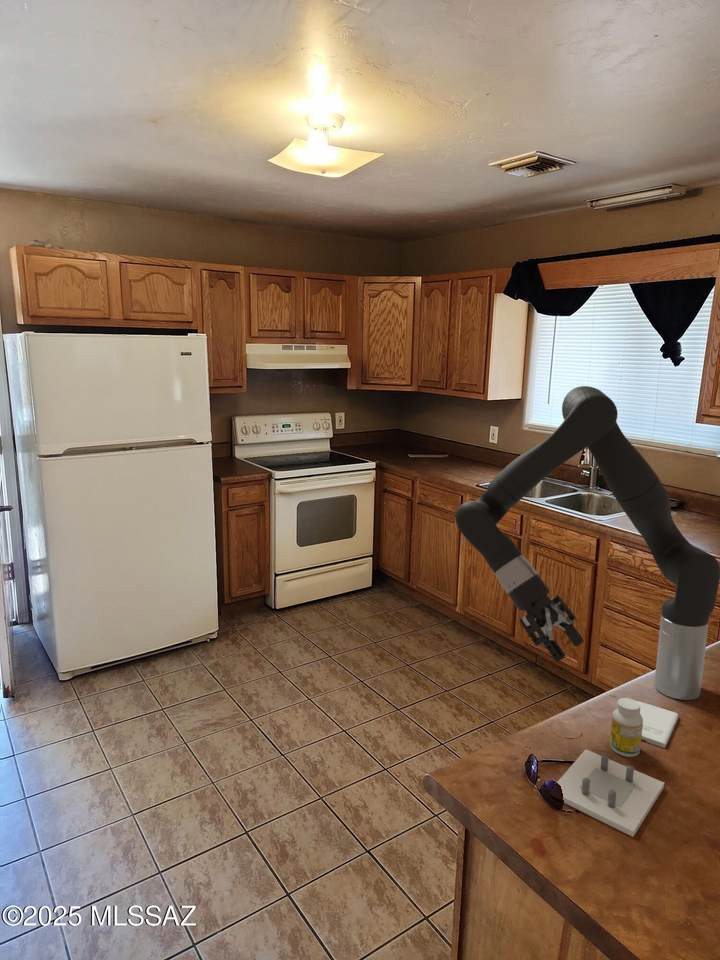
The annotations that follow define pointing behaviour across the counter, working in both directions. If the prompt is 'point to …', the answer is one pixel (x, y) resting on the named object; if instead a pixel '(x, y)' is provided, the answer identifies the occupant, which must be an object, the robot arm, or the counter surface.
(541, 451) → the robot arm
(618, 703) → the supplement bottle
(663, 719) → the external hard drive
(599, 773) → the pin tray
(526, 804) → the counter surface
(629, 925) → the counter surface
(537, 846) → the counter surface
